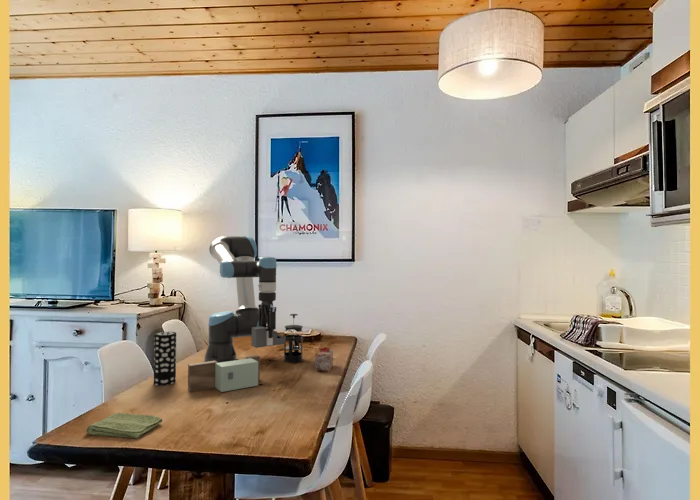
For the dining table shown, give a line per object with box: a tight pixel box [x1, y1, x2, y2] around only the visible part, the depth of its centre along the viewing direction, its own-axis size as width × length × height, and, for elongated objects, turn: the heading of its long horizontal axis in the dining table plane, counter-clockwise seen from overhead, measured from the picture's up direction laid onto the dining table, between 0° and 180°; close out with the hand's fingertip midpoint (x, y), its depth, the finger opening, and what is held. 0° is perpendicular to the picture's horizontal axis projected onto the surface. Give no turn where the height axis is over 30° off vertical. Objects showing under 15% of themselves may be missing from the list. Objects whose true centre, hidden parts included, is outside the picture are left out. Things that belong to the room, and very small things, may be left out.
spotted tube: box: [153, 331, 177, 387], centre depth 182 cm, size 8×8×20 cm
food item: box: [314, 346, 334, 373], centre depth 207 cm, size 14×8×10 cm, turn 0°
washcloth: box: [86, 412, 163, 439], centre depth 135 cm, size 13×18×3 cm
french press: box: [283, 313, 304, 364], centre depth 222 cm, size 12×9×23 cm
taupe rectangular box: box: [187, 354, 261, 393], centre depth 180 cm, size 3×28×10 cm, turn 126°
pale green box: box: [214, 358, 259, 393], centre depth 177 cm, size 8×15×10 cm, turn 126°
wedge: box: [251, 327, 285, 348], centre depth 199 cm, size 5×14×8 cm, turn 126°
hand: (266, 343), depth 199 cm, fingers closed on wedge, 5 cm apart
